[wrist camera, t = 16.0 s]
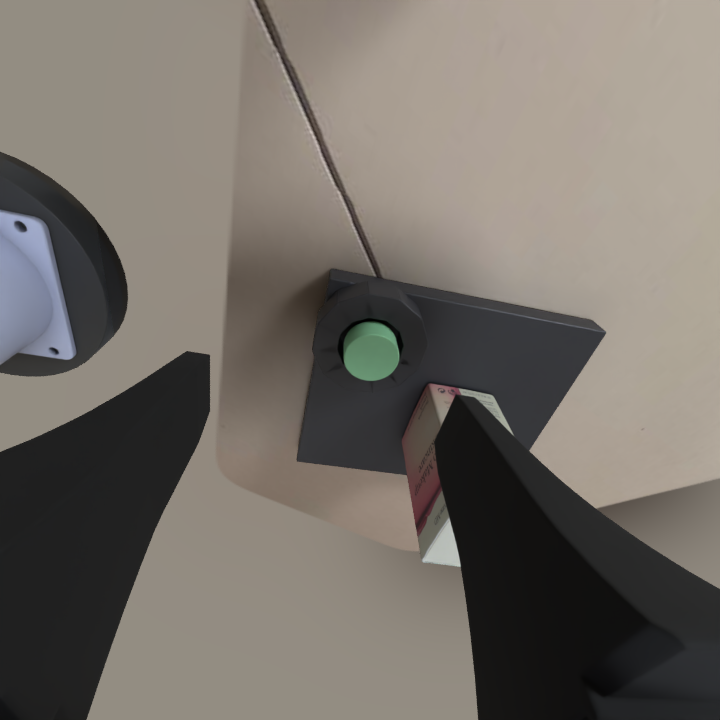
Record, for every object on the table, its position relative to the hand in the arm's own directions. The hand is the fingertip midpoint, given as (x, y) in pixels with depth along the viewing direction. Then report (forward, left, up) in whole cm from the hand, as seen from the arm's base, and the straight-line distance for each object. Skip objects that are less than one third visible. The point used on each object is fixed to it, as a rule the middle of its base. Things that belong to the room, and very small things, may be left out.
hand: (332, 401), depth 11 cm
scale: (+7, -6, -10) cm, 14 cm away
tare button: (+2, -2, -7) cm, 8 cm away
